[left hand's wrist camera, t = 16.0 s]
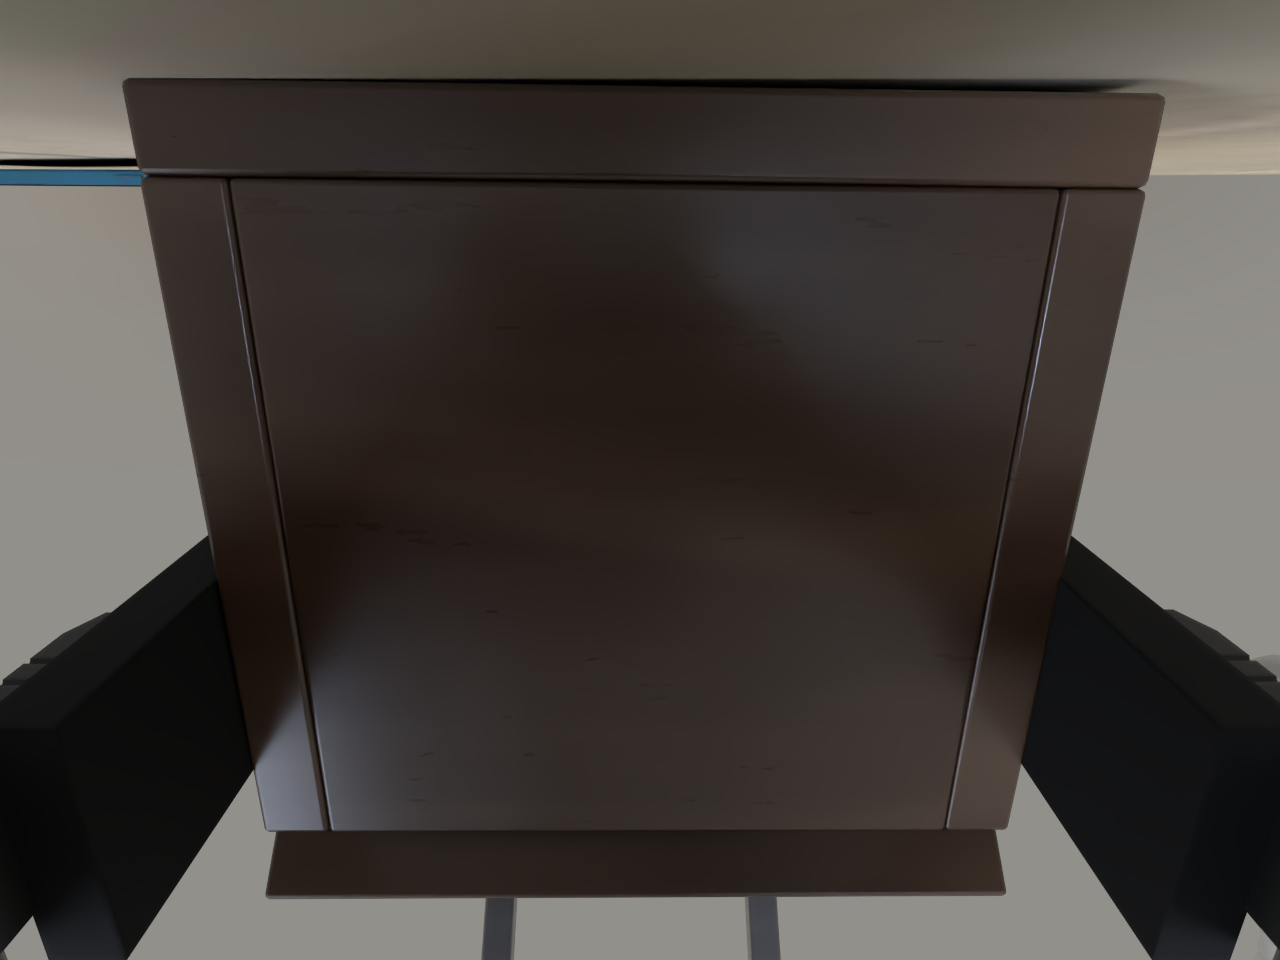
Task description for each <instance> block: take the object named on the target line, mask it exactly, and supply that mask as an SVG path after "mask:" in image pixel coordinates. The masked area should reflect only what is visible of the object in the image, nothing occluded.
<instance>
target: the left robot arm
mask: <svg viewBox="0 0 1280 960" xmlns="http://www.w3.org/2000/svg"><path fill="white" fill-rule="evenodd" d="M1021 764H1022V765H1023V767H1024V768H1025V770H1026V771H1027V773H1028V774H1029V776H1030V777H1031V779H1032V780H1033V782H1034V783H1035V785H1036V786H1037V788H1038V789H1039V791H1040V792H1041V794H1042V795H1043V797H1044V798H1045V800H1046V801H1047V803H1048V804H1049V806H1050V807H1051V809H1052V810H1053V812H1054V813H1055V815H1056V816H1057V818H1058V819H1059V821H1060V822H1061V824H1062V825H1063V827H1064V828H1065V830H1066V831H1067V833H1068V834H1069V836H1070V837H1071V839H1072V840H1073V842H1074V843H1075V845H1076V846H1077V848H1078V849H1079V851H1080V852H1081V854H1082V855H1083V857H1084V858H1085V860H1086V861H1087V863H1088V864H1089V866H1090V867H1091V869H1092V870H1093V872H1094V873H1095V875H1096V876H1097V878H1098V879H1099V881H1100V882H1101V884H1102V885H1103V887H1104V888H1105V890H1106V891H1107V893H1108V894H1109V896H1110V897H1111V899H1112V900H1113V902H1114V903H1115V905H1116V906H1117V908H1118V909H1119V911H1120V912H1121V914H1122V915H1123V917H1124V918H1125V920H1126V921H1127V923H1128V924H1129V926H1130V927H1131V929H1132V930H1133V932H1134V933H1135V935H1136V936H1137V938H1138V939H1139V941H1140V942H1141V944H1142V945H1143V947H1144V948H1145V950H1146V951H1147V953H1148V954H1149V956H1150V957H1151V959H1152V960H1230V958H1231V955H1232V953H1233V950H1234V947H1235V944H1236V941H1237V939H1238V936H1239V933H1240V930H1241V927H1242V925H1243V922H1244V919H1245V916H1246V913H1248V914H1249V915H1250V916H1251V917H1252V919H1253V920H1254V921H1255V922H1256V923H1257V924H1258V926H1259V927H1260V928H1261V929H1262V930H1263V932H1264V933H1265V934H1266V935H1267V936H1268V938H1269V939H1270V940H1271V941H1272V942H1273V943H1274V945H1275V946H1276V947H1277V949H1276V952H1275V955H1274V957H1273V960H1280V682H1278V681H1277V676H1276V675H1274V674H1273V673H1272V672H1270V671H1269V670H1268V669H1266V668H1265V667H1264V666H1262V665H1261V664H1260V663H1259V662H1257V661H1256V660H1250V659H1249V655H1248V654H1247V653H1245V652H1244V651H1243V650H1241V649H1240V648H1239V647H1238V646H1236V645H1235V644H1234V643H1232V642H1231V641H1230V640H1228V639H1227V638H1226V637H1224V636H1223V635H1222V634H1221V633H1219V632H1218V631H1216V630H1214V629H1212V628H1210V627H1208V626H1206V625H1204V624H1202V623H1200V622H1198V621H1196V620H1194V619H1192V618H1189V617H1187V616H1185V615H1183V614H1181V613H1179V612H1177V611H1175V610H1164V609H1162V608H1161V607H1160V606H1159V605H1157V604H1156V603H1155V602H1154V601H1152V600H1151V599H1150V598H1149V597H1147V596H1146V595H1145V594H1144V593H1142V592H1141V591H1140V590H1139V589H1137V588H1136V587H1135V586H1134V585H1132V584H1131V583H1130V582H1129V581H1127V580H1126V579H1125V578H1124V577H1122V576H1121V575H1120V574H1119V573H1117V572H1116V571H1115V570H1114V569H1112V568H1111V567H1110V566H1109V565H1107V564H1106V563H1105V562H1104V561H1102V560H1101V559H1100V558H1099V557H1097V556H1096V555H1095V554H1094V553H1092V552H1091V551H1090V550H1089V549H1087V548H1086V547H1085V546H1084V545H1082V544H1081V543H1080V542H1079V541H1077V540H1076V539H1075V538H1074V537H1072V536H1071V538H1070V543H1069V547H1068V552H1067V556H1066V561H1065V566H1064V570H1063V575H1062V577H1061V578H1060V582H1059V587H1058V591H1057V596H1056V601H1055V606H1054V611H1053V615H1052V620H1051V625H1050V630H1049V635H1048V639H1047V644H1046V649H1045V654H1044V659H1043V663H1042V668H1041V673H1040V678H1039V683H1038V688H1037V692H1036V697H1035V702H1034V707H1033V712H1032V716H1031V721H1030V726H1029V730H1028V735H1027V739H1026V744H1025V749H1024V753H1023V758H1022V762H1021ZM253 770H254V769H253V764H252V759H251V753H250V748H249V743H248V738H247V733H246V728H245V722H244V717H243V712H242V707H241V702H240V696H239V691H238V686H237V681H236V676H235V670H234V665H233V660H232V655H231V650H230V644H229V639H228V634H227V629H226V624H225V619H224V613H223V608H222V603H221V598H220V593H219V587H218V582H217V577H216V572H215V567H214V561H213V556H212V551H211V546H210V541H209V536H206V537H205V538H204V539H203V540H201V541H200V542H199V543H198V544H197V545H195V546H194V547H193V548H191V549H190V550H189V551H188V552H187V553H185V554H184V555H183V556H181V557H180V558H179V559H178V560H176V561H175V562H174V563H173V564H171V565H170V566H169V567H168V568H166V569H165V570H164V571H163V572H162V573H160V574H159V575H158V576H156V577H155V578H154V579H153V580H151V581H150V582H149V583H148V584H146V585H145V586H144V587H143V588H141V589H140V590H139V591H138V592H136V593H135V594H134V595H133V596H131V597H130V598H129V599H128V600H127V601H125V602H124V603H123V604H121V605H120V606H119V607H118V608H116V609H115V610H114V611H113V612H111V613H104V614H102V615H100V616H98V617H96V618H94V619H92V620H90V621H88V622H86V623H84V624H82V625H80V626H78V627H76V628H73V629H71V630H69V631H67V632H65V633H63V634H62V635H60V636H59V637H58V638H57V639H55V640H54V641H53V642H51V643H50V644H49V645H47V646H46V647H45V648H44V649H42V650H41V651H40V652H38V653H37V654H36V655H34V656H33V657H32V658H31V659H30V663H29V664H23V665H21V666H20V667H19V668H18V669H16V670H15V671H14V672H12V673H11V674H10V675H8V676H7V677H6V678H5V679H3V684H2V685H0V960H7V957H6V955H5V952H4V949H5V948H6V947H7V946H8V944H9V943H10V942H11V941H12V940H13V939H14V937H15V936H16V935H17V934H18V933H19V931H20V930H21V929H22V928H23V926H24V925H25V924H26V923H27V922H28V921H29V919H30V918H31V917H32V916H33V917H34V920H35V923H36V926H37V928H38V931H39V934H40V937H41V940H42V942H43V945H44V948H45V951H46V953H47V956H48V959H49V960H127V959H128V957H129V956H130V954H131V953H132V951H133V950H134V948H135V947H136V945H137V944H138V942H139V941H140V939H141V938H142V936H143V935H144V933H145V932H146V930H147V929H148V927H149V926H150V924H151V923H152V921H153V920H154V918H155V917H156V915H157V914H158V912H159V911H160V909H161V908H162V906H163V905H164V903H165V902H166V900H167V899H168V897H169V896H170V894H171V893H172V891H173V890H174V888H175V887H176V885H177V884H178V882H179V881H180V879H181V878H182V876H183V875H184V873H185V872H186V870H187V869H188V867H189V866H190V864H191V863H192V861H193V860H194V858H195V857H196V855H197V854H198V852H199V851H200V849H201V848H202V846H203V845H204V843H205V842H206V840H207V839H208V837H209V836H210V834H211V833H212V831H213V830H214V828H215V827H216V825H217V824H218V822H219V821H220V819H221V818H222V816H223V815H224V813H225V812H226V810H227V809H228V807H229V806H230V804H231V803H232V801H233V799H234V798H235V797H236V795H237V793H238V792H239V791H240V789H241V787H242V786H243V785H244V783H245V782H246V780H247V779H248V777H249V776H250V774H251V773H252V771H253Z"/></svg>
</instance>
